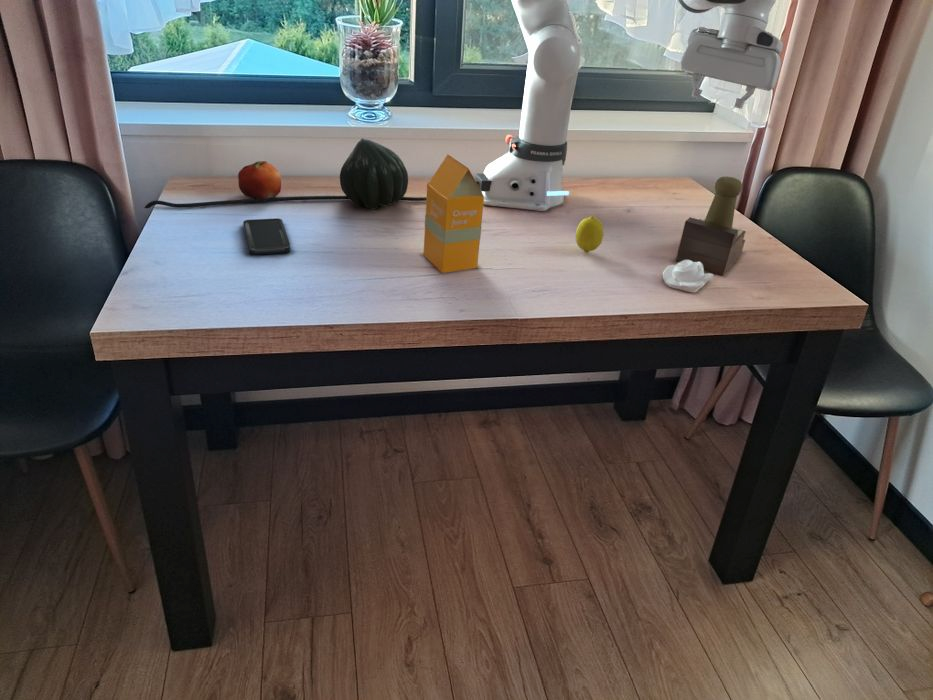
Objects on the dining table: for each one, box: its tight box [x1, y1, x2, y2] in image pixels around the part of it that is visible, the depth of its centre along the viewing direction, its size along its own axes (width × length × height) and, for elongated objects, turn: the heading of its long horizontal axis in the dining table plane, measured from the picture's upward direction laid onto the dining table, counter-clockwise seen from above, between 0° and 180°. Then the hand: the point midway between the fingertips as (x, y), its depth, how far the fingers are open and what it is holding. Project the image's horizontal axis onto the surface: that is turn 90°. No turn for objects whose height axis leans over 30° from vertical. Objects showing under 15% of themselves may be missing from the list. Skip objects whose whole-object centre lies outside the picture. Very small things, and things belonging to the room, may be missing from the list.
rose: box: [662, 260, 714, 293], centre depth 144 cm, size 10×4×10 cm
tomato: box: [237, 160, 282, 199], centre depth 164 cm, size 9×9×8 cm
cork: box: [704, 176, 743, 228], centre depth 151 cm, size 6×6×11 cm
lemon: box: [575, 215, 604, 254], centre depth 152 cm, size 6×6×8 cm
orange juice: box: [423, 153, 485, 274], centre depth 140 cm, size 8×9×20 cm
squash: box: [339, 138, 409, 210], centre depth 166 cm, size 14×15×15 cm
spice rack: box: [675, 216, 746, 276], centre depth 155 cm, size 15×10×9 cm, turn 148°
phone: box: [242, 218, 291, 256], centre depth 147 cm, size 8×1×15 cm
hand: (716, 102), depth 158 cm, fingers open, 8 cm apart
